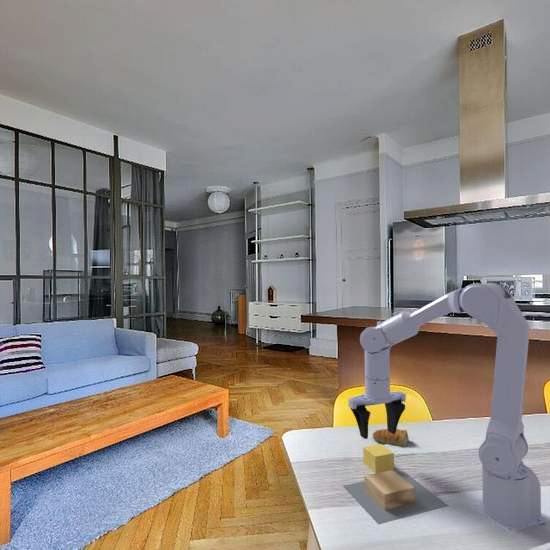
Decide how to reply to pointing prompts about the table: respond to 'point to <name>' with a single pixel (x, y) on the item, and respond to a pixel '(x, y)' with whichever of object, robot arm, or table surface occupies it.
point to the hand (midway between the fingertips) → (377, 434)
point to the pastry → (391, 437)
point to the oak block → (389, 489)
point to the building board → (422, 504)
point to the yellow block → (378, 458)
